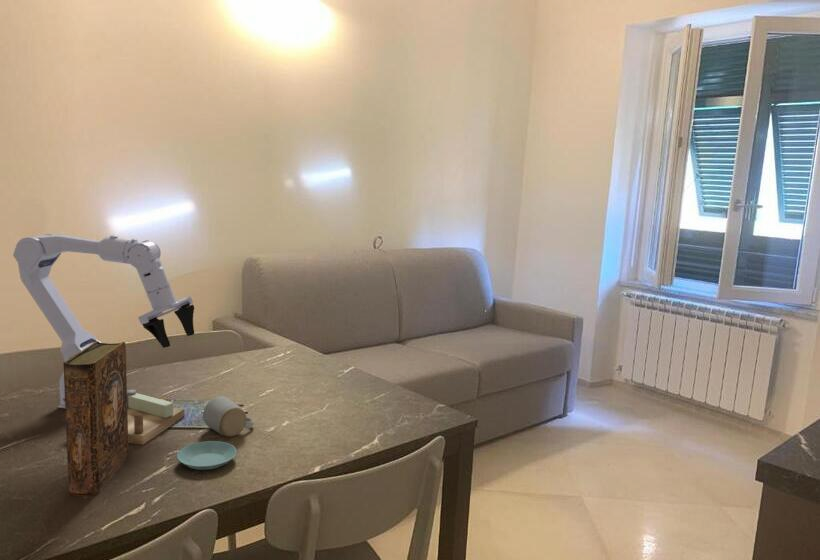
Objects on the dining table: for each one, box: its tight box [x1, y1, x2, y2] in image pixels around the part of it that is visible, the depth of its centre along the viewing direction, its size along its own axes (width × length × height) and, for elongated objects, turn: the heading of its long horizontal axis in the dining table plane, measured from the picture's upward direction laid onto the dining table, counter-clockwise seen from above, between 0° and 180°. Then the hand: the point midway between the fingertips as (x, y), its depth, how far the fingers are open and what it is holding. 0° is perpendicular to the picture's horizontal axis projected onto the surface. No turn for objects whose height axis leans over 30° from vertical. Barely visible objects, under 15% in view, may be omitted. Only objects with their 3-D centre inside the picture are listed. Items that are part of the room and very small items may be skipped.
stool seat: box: [127, 406, 185, 445], centre depth 147 cm, size 17×17×6 cm
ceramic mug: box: [202, 395, 255, 438], centre depth 147 cm, size 11×8×8 cm
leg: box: [127, 389, 174, 418], centre depth 151 cm, size 14×3×4 cm, turn 65°
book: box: [63, 340, 129, 497], centre depth 121 cm, size 16×6×25 cm, turn 5°
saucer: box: [176, 440, 238, 471], centre depth 131 cm, size 12×12×2 cm
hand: (179, 340), depth 155 cm, fingers open, 7 cm apart
